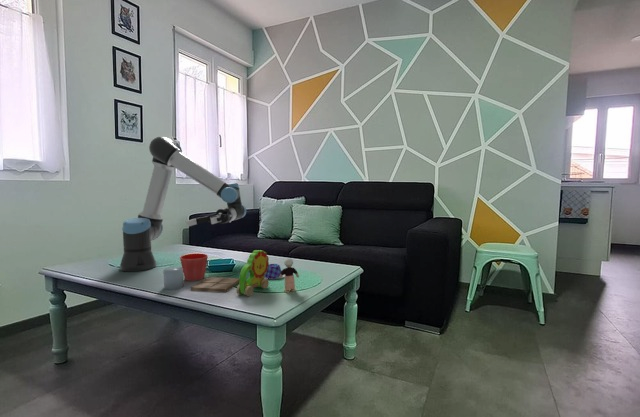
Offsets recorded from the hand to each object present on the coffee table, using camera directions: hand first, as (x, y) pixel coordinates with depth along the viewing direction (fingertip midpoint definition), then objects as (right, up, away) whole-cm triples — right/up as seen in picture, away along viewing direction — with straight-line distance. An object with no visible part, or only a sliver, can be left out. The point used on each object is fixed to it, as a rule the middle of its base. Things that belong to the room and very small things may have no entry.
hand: (198, 222), depth 148 cm
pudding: (+34, -24, -2) cm, 41 cm away
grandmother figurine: (+42, -25, -23) cm, 54 cm away
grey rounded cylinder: (-3, -25, -18) cm, 31 cm away
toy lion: (+29, -25, -22) cm, 45 cm away
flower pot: (+1, -24, -6) cm, 25 cm away
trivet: (+13, -24, -16) cm, 32 cm away
